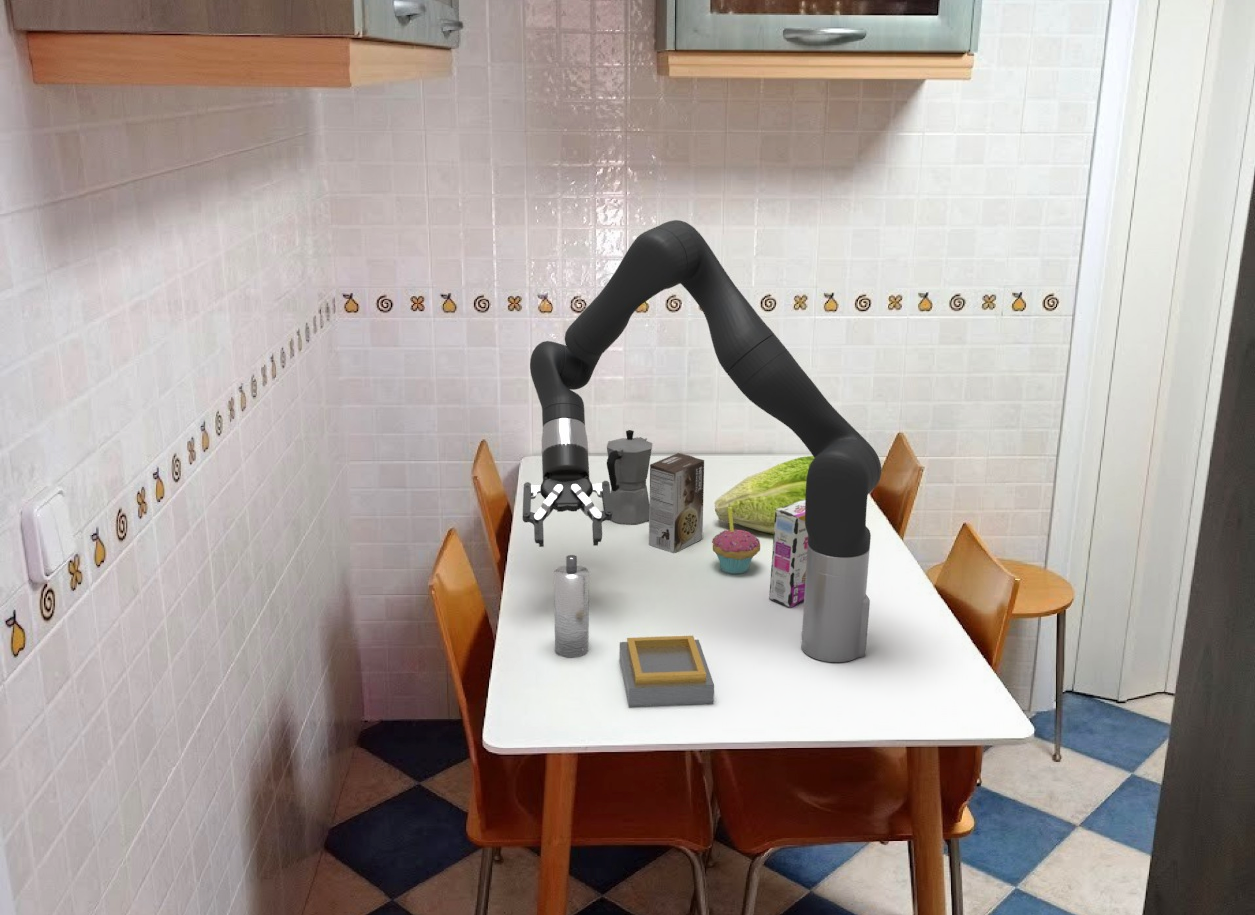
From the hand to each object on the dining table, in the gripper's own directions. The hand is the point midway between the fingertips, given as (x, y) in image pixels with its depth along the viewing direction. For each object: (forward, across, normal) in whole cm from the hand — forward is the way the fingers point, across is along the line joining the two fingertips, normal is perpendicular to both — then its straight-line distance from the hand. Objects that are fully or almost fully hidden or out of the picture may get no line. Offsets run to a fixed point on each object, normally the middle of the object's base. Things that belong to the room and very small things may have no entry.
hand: (568, 544), depth 189 cm
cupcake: (-5, +31, +25) cm, 40 cm away
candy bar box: (+4, +40, +16) cm, 43 cm away
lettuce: (-18, +43, +38) cm, 60 cm away
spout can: (+16, 0, +4) cm, 16 cm away
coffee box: (-14, +22, +34) cm, 43 cm away
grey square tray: (+24, +13, -4) cm, 27 cm away
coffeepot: (-23, +14, +43) cm, 51 cm away
